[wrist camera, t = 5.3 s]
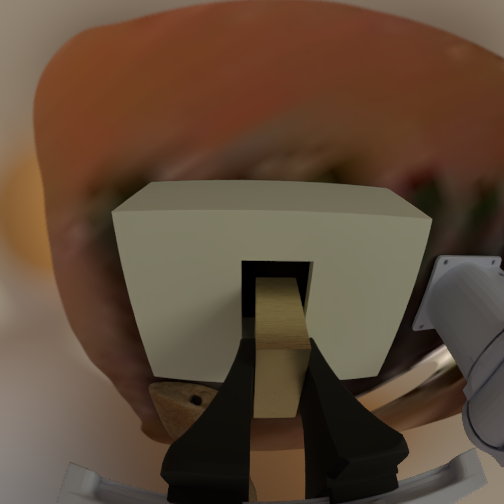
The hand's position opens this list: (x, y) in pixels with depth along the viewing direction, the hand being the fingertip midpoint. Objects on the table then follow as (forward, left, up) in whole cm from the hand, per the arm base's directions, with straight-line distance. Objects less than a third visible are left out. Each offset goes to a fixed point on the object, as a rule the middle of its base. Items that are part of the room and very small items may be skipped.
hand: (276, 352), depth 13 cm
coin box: (0, 0, -9) cm, 9 cm away
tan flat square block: (0, 0, -3) cm, 3 cm away
